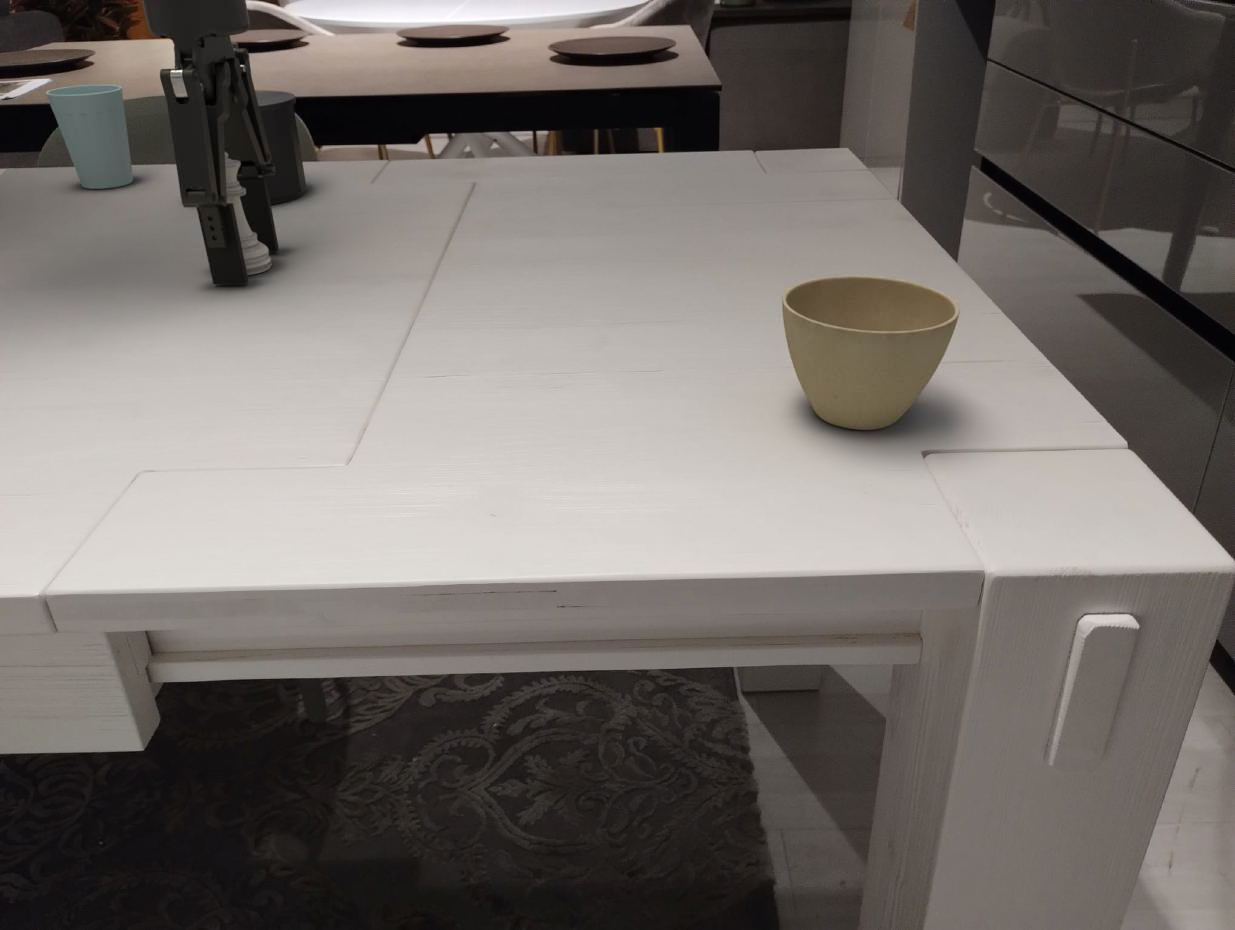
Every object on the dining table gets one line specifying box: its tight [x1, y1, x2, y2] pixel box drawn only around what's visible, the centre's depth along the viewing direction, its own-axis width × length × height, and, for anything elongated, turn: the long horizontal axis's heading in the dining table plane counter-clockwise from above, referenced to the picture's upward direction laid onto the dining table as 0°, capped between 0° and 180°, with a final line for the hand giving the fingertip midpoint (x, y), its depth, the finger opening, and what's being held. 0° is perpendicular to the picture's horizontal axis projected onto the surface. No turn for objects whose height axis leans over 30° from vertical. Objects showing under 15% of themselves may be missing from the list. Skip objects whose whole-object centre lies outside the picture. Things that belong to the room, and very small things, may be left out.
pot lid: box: [231, 41, 297, 112], centre depth 106 cm, size 12×12×7 cm
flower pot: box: [781, 274, 961, 431], centre depth 60 cm, size 10×10×7 cm
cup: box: [45, 84, 134, 190], centre depth 115 cm, size 8×8×10 cm
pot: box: [202, 104, 307, 206], centre depth 110 cm, size 11×11×10 cm
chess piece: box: [225, 152, 273, 276], centre depth 86 cm, size 4×4×10 cm
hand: (247, 265), depth 89 cm, fingers open, 8 cm apart
